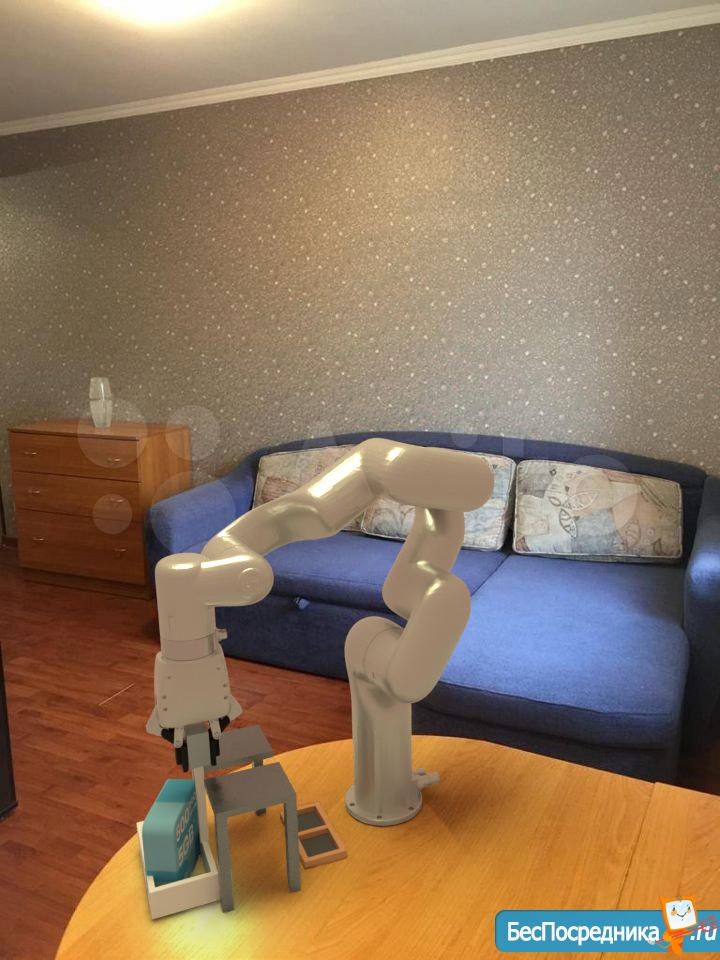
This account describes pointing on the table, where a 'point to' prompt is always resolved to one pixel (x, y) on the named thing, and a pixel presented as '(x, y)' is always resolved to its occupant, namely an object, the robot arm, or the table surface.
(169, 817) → the data package
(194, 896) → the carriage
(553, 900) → the table surface
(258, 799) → the tunnel
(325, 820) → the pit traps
